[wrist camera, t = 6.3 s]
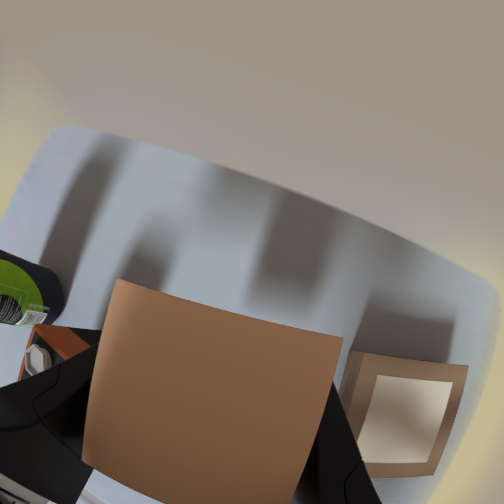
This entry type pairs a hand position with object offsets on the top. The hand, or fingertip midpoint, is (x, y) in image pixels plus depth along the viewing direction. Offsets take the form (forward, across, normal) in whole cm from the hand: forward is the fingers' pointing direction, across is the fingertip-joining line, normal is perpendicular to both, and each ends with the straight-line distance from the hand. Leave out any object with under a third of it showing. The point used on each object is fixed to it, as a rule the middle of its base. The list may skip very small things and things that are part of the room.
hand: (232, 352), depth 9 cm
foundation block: (+7, -11, +12) cm, 18 cm away
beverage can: (+8, +22, +12) cm, 26 cm away
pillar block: (+4, 0, +6) cm, 7 cm away
